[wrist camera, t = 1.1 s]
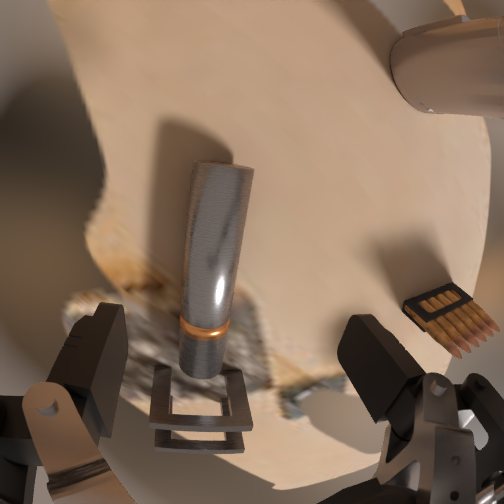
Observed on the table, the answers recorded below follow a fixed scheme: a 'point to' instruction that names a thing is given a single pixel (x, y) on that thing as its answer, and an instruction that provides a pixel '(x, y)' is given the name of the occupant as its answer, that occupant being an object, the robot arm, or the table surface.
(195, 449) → the dark grey rectangular frame
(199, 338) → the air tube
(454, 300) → the ammunition clip
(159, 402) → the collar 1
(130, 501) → the robot arm
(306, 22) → the table surface
